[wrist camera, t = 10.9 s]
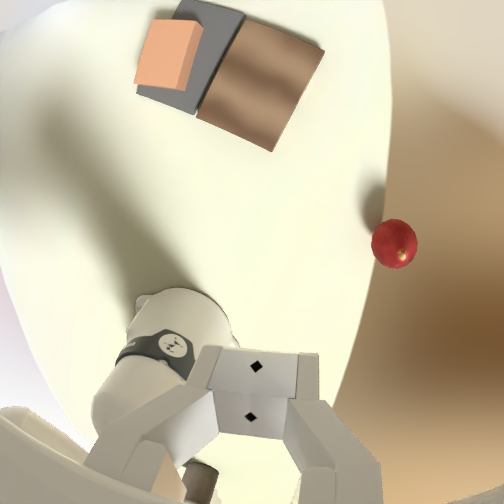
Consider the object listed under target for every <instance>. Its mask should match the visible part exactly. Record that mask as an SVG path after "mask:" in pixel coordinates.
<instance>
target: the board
mask: <svg viewBox="0 0 504 504" xmlns="http://www.w3.org/2000/svg"><path fill="white" fill-rule="evenodd" d="M324 52H325V51H324V50H322V49H320V48H318V47H316V46H314V45H311V44H309V43H307V42H305V41H302V40H300V39H298V38H295V37H293V36H291V35H288V34H286V33H283V32H281V31H278V30H276V29H273V28H270V27H268V26H265V25H262V24H259V23H257V22H254V21H251V20H248V19H246V20H245V22H244V24H243V26H242V27H241V29H240V31H239V33H238V34H237V36H236V38H235V40H234V42H233V43H232V45H231V47H230V49H229V51H228V53H227V55H226V56H225V58H224V60H223V62H222V64H221V66H220V68H219V70H218V72H217V74H216V76H215V78H214V80H213V82H212V84H211V86H210V88H209V90H208V92H207V94H206V96H205V99H204V101H203V103H202V105H201V107H200V109H199V111H198V114H197V116H196V118H198V119H201V120H203V121H205V122H208V123H210V124H212V125H215V126H217V127H219V128H221V129H224V130H226V131H228V132H230V133H232V134H235V135H237V136H239V137H241V138H243V139H245V140H247V141H249V142H252V143H254V144H256V145H258V146H260V147H262V148H264V149H266V150H268V151H270V152H272V151H273V150H274V148H275V146H276V144H277V142H278V140H279V138H280V136H281V134H282V132H283V130H284V128H285V127H286V125H287V123H288V121H289V119H290V117H291V115H292V113H293V111H294V109H295V108H296V106H297V104H298V102H299V100H300V98H301V96H302V94H303V92H304V91H305V89H306V87H307V85H308V83H309V81H310V79H311V78H312V76H313V74H314V72H315V70H316V68H317V66H318V65H319V63H320V61H321V59H322V57H323V56H324Z"/></svg>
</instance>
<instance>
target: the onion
mask: <svg viewBox="0 0 504 504" xmlns="http://www.w3.org/2000/svg"><path fill="white" fill-rule="evenodd" d="M417 244H418V242H417V238H416V235H415V232H414V231H413V229H412V228H411V227H410V226H409V225H408V224H407V223H405V222H403V221H401V220H397V219H390V220H388V221H386V222H383V223H382V224H381V225H379V226H378V227H377V228H376V230H375V232H374V234H373V235H372V242H371V247H372V251H373V254H374V256H375V257H376V258H377V259H378V261H379V262H380V263H381V264H383V265H385V266H386V267H388V268H395V269H398V268H401V267H404V266H407V265H408V264H409V263H410V262H411V261H412V260H413V258H414V256H415V254H416V252H417Z"/></svg>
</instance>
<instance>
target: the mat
mask: <svg viewBox="0 0 504 504" xmlns="http://www.w3.org/2000/svg"><path fill="white" fill-rule="evenodd" d="M244 18H245V14H243V13H240V12H237V11H233V10H230V9H226V8H223V7H219V6H215V5H211V4H207V3H203V2H199V1H194V0H182V2H181V3H180V5H179V7H178V8H177V10H176V12H175V14H174V15H173V17H172V19H171V20H190V21H197V22H198V23H199V24H200V25H201V26H202V27H203V28H204V29H203V32H202V35H201V38H200V41H199V45H198V48H197V51H196V54H195V58H194V61H193V65H192V68H191V72H190V75H189V79H188V82H187V86H186V90H185V91H181V90H174V89H167V88H159V87H151V86H144V85H139V87H138V90H137V92H136V94H139V95H142V96H145V97H148V98H150V99H153V100H156V101H158V102H161V103H164V104H166V105H169V106H171V107H174V108H176V109H179V110H181V111H184V112H186V113H189V114H191V115H195V113H196V110H197V108H198V106H199V104H200V102H201V100H202V97H203V95H204V93H205V91H206V89H207V87H208V85H209V83H210V81H211V79H212V77H213V75H214V73H215V71H216V69H217V67H218V65H219V63H220V61H221V59H222V57H223V55H224V53H225V52H226V50H227V48H228V46H229V44H230V42H231V41H232V39H233V37H234V35H235V33H236V32H237V30H238V28H239V26H240V25H241V23H242V21H243V19H244Z"/></svg>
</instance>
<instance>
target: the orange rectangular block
mask: <svg viewBox="0 0 504 504" xmlns="http://www.w3.org/2000/svg"><path fill="white" fill-rule="evenodd" d="M203 29H204V28H203V27H202V26H201V25H200V24H199V23H198V22H197V21H190V20H168V19H152V22H151V25H150V28H149V31H148V34H147V37H146V40H145V43H144V47H143V50H142V54H141V57H140V60H139V64H138V68H137V71H136V75H135V79H134V84H139V85H144V86H151V87H159V88H167V89H174V90H181V91H185V90H186V86H187V82H188V79H189V75H190V72H191V68H192V65H193V61H194V58H195V54H196V51H197V48H198V45H199V41H200V38H201V35H202V32H203Z"/></svg>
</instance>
